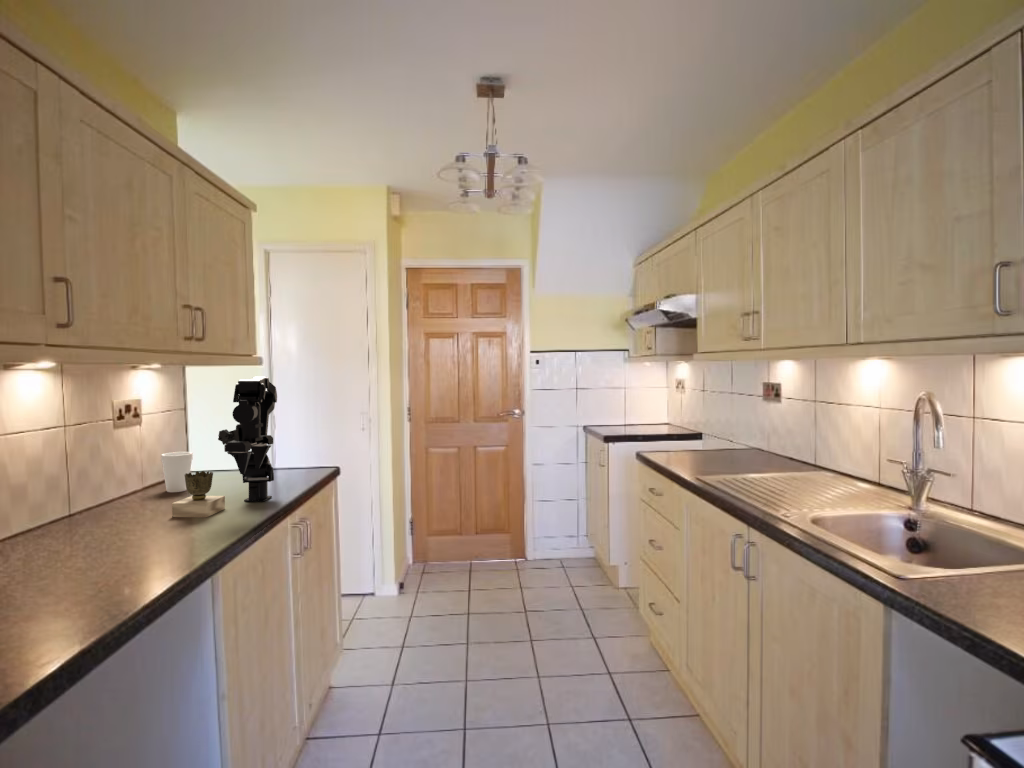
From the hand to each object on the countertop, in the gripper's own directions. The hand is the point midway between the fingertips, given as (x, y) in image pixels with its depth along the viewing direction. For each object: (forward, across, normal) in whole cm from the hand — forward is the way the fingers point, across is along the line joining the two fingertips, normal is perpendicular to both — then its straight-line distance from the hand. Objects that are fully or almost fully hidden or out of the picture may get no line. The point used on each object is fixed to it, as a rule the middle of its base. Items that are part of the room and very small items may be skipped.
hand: (250, 471), depth 167 cm
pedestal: (+12, +4, -14) cm, 18 cm away
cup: (+8, +4, -14) cm, 16 cm away
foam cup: (+12, -25, -39) cm, 48 cm away
